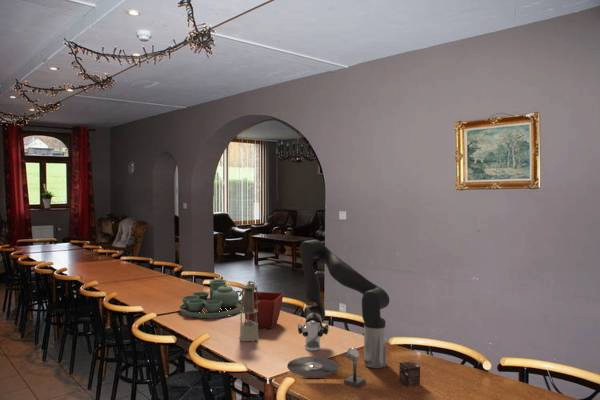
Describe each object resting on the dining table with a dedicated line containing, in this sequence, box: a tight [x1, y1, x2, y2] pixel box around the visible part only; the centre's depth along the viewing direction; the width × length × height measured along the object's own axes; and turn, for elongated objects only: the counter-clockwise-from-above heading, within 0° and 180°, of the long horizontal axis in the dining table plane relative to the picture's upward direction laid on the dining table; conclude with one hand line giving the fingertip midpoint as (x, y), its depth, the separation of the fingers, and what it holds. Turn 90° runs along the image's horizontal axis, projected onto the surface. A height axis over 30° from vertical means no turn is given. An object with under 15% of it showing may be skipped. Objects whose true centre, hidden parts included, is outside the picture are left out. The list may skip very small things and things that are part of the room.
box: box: [398, 360, 421, 387], centre depth 183 cm, size 6×6×7 cm
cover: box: [304, 321, 321, 353], centre depth 196 cm, size 6×6×12 cm
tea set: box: [179, 278, 244, 319], centre depth 291 cm, size 40×40×16 cm
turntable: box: [287, 356, 340, 380], centre depth 196 cm, size 22×22×1 cm
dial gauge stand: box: [341, 346, 366, 388], centre depth 183 cm, size 9×6×14 cm, turn 50°
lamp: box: [238, 280, 260, 342], centre depth 234 cm, size 10×13×30 cm
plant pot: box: [243, 291, 284, 330], centre depth 259 cm, size 19×19×17 cm
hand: (312, 334), depth 193 cm, fingers closed on cover, 6 cm apart
